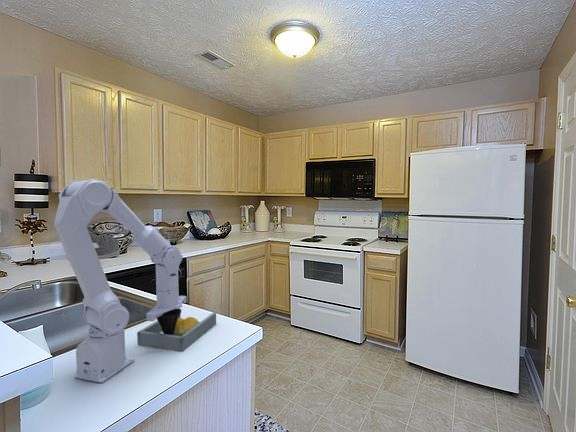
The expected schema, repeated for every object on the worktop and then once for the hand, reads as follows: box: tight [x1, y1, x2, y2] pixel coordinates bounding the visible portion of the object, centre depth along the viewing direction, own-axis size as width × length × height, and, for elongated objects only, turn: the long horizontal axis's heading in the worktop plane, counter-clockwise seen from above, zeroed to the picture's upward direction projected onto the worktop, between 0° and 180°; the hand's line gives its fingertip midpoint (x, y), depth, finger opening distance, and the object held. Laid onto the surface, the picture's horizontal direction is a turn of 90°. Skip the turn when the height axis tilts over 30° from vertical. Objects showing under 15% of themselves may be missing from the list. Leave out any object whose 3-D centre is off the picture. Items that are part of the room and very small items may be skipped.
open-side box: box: [136, 312, 217, 352], centre depth 89 cm, size 18×14×4 cm
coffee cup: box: [93, 242, 100, 256], centre depth 184 cm, size 9×9×12 cm
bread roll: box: [174, 316, 200, 336], centre depth 91 cm, size 8×9×4 cm
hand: (168, 336), depth 84 cm, fingers closed
